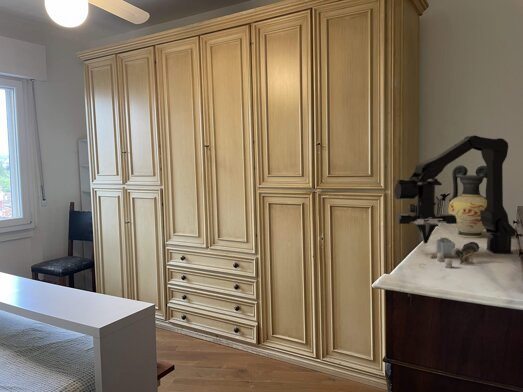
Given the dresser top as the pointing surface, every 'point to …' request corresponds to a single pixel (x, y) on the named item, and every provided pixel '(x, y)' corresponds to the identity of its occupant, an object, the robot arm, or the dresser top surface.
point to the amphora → (468, 201)
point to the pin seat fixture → (447, 261)
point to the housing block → (444, 246)
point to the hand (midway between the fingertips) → (425, 243)
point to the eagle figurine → (466, 251)
